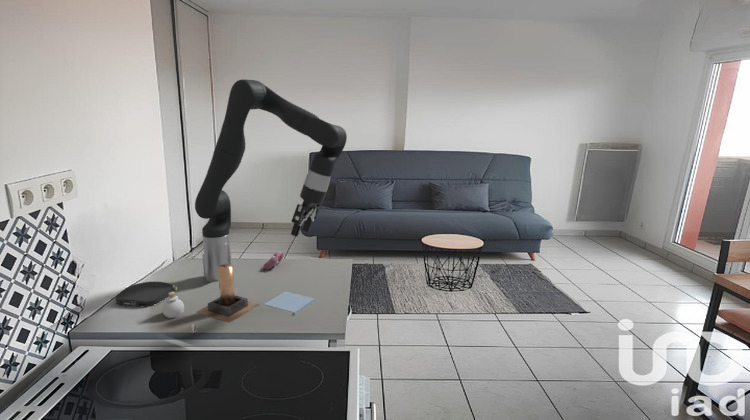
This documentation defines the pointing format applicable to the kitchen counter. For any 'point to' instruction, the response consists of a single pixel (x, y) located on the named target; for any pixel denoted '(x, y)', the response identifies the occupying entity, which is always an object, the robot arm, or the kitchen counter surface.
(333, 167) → the robot arm
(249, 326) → the kitchen counter surface
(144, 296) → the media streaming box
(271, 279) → the kitchen counter surface
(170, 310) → the ornament
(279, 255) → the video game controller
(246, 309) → the board
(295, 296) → the pad
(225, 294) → the copper rod
